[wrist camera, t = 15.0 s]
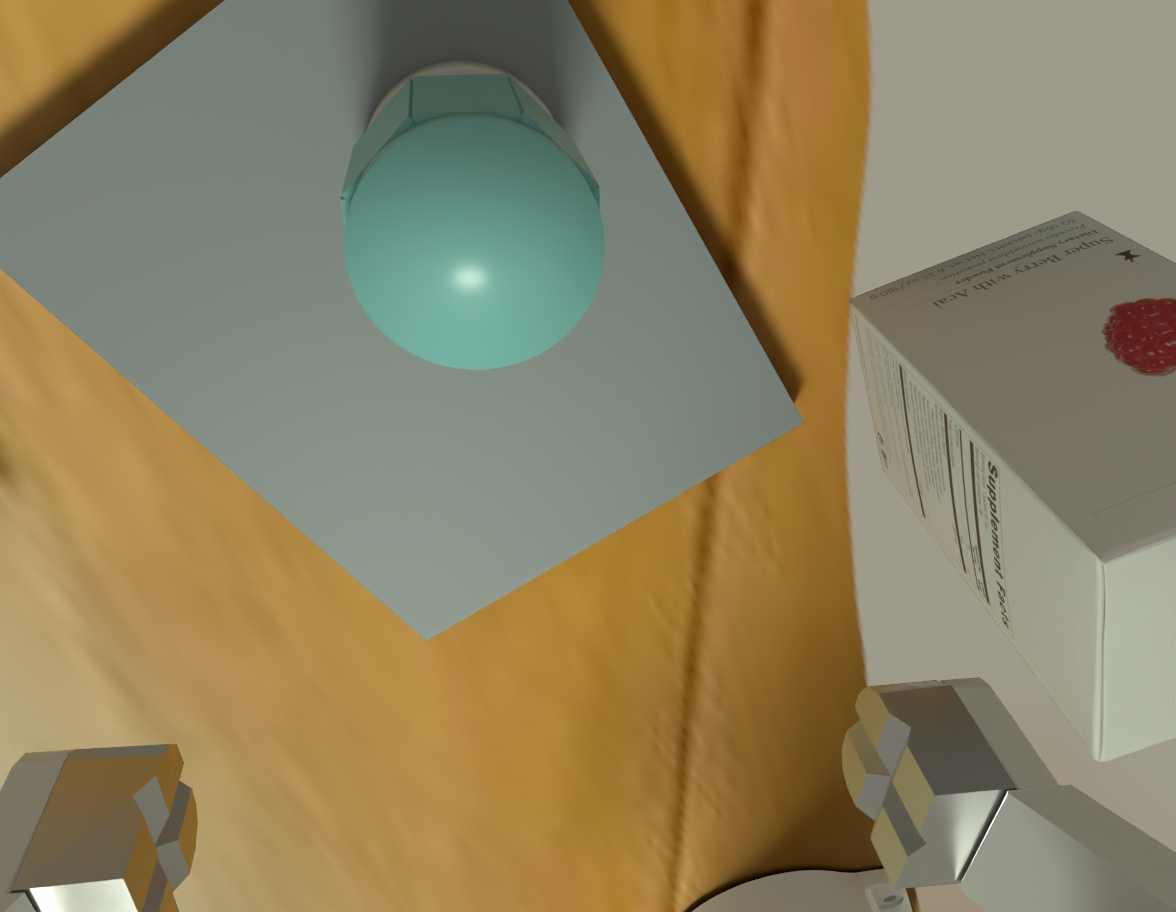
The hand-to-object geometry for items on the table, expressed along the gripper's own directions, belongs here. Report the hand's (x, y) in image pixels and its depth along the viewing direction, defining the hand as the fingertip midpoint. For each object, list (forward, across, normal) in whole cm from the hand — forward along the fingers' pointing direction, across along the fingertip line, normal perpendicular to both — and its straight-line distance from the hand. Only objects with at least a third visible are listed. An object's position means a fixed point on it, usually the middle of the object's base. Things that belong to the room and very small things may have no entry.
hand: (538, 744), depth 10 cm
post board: (+21, +1, +4) cm, 22 cm away
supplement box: (+22, -19, +6) cm, 29 cm away
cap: (+17, 0, -2) cm, 17 cm away
